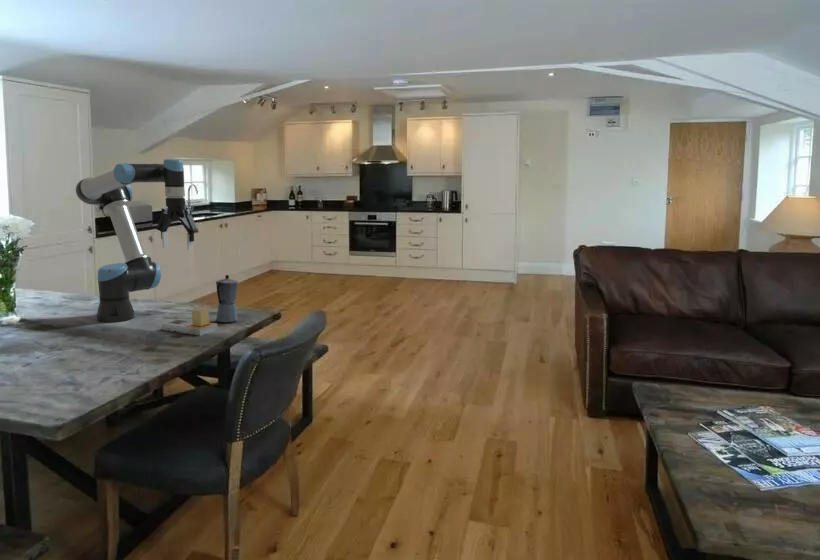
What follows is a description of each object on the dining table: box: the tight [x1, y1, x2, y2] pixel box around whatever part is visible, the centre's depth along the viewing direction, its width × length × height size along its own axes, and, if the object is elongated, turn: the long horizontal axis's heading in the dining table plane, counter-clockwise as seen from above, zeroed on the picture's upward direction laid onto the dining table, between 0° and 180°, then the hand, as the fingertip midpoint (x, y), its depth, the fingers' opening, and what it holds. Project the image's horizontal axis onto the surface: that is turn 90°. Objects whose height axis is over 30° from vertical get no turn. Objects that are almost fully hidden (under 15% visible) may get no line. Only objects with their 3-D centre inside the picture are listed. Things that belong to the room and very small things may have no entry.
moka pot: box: [215, 274, 239, 323], centre depth 267 cm, size 10×15×20 cm, turn 174°
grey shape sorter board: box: [161, 318, 218, 336], centre depth 254 cm, size 20×10×3 cm, turn 66°
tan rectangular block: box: [191, 307, 210, 327], centre depth 251 cm, size 4×4×9 cm
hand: (178, 248), depth 261 cm, fingers open, 13 cm apart
